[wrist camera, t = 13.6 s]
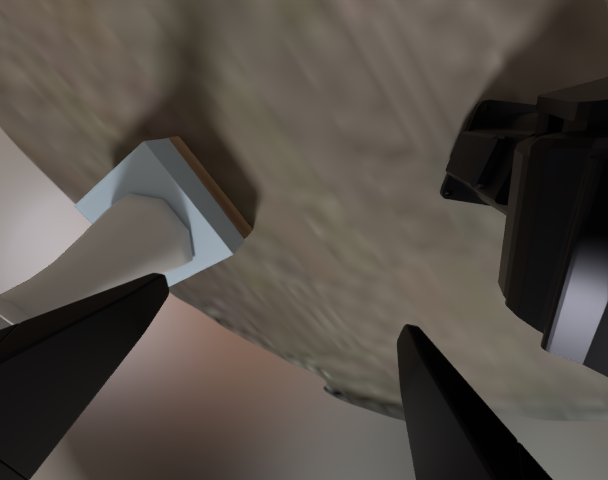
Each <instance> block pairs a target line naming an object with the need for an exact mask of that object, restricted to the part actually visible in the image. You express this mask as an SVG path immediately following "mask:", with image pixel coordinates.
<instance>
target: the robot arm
mask: <svg viewBox="0 0 608 480" xmlns="http://www.w3.org/2000/svg"><path fill="white" fill-rule="evenodd" d="M484 105H487V110H486V112H484V113H482V112H481V109H482V107H483V106H484ZM446 172H447V176H446V178H445V180H444V183H443V185H442V188H441V190H440V194H441V196H442V197H444V198H446V199H451V200H457V201H463V202H470V203H476V204H483V205H489V206H492V207H494V208H495V209H497V210H499V211H500V212H502V213H503V214H505V215H506V223H505V231H504V239H503V247H502V255H501V263H500V271H499V279H498V283H499V286H500V288H501V291H502V293H503V296H504V297H505V298H506V301H505V304H506V306H507V307H508V308H509V309H510V310H511V311H512V312H513V313H514V314H515V315H516V316H517V317H519V318H520V319H522V320H523V321H525V322H526V323H527V324H529V325H530V326H532V327H533V328H535V329H536V330H538V331H540V332H542V333H543V338H542V341H541V347H542V349H544V350H545V351H548V352H550V353H553V354H555V355H558V356H561V357H564V358H566V359H569V360H572V361H575V362H577V363H580V364H583V365H585V366H587V367H589V368H591V369H593V370H595V371H597V372H599V373H601V374H603V375H605V376H607V377H608V77H607V78H604V79H600V80H596V81H592V82H588V83H585V84H581V85H577V86H573V87H569V88H566V89H562V90H558V91H554V92H550V93H547V94H543V95H539V96H538V100H537V105H530V104H521V103H513V102H504V101H496V100H483V101H481V102H479V103H478V104H477V105H476V107H475V108H474V111H473V113H472V116H471V118H470V120H469V123H468V125H467V128H466V130H465V131H464V132H463V133H461V134H460V136H459V138H458V141H457V143H456V146H455V148H454V151H453V153H452V155H451V158H450V160H449V163H448V165H447V168H446ZM448 189H451V192H450V193H449V194H445V193H446V191H447V190H448ZM168 295H169V287H168V283H167V278H166V276H165V275H164V274H160V273H151V274H148V275H145V276H142V277H140V278H137V279H134V280H132V281H129V282H126V283H124V284H121V285H118V286H116V287H113V288H110V289H108V290H105V291H102V292H100V293H97V294H94V295H92V296H89V297H86V298H84V299H81V300H78V301H76V302H73V303H70V304H67V305H65V306H62V307H59V308H57V309H54V310H51V311H49V312H46V313H43V314H41V315H38V316H35V317H33V318H30V319H27V320H25V321H22V322H21V323H16V324H14V325H11V326H8V327H6V328H3V329H0V480H29V479H31V477H32V476H33V475H34V474H35V472H36V471H37V470H38V469H39V467H40V466H41V465H42V463H43V462H44V461H45V459H46V458H47V457H48V456H49V455H50V453H51V452H52V451H53V449H54V448H55V447H56V445H57V444H58V443H59V442H60V440H61V439H62V438H63V437H64V435H65V434H66V433H67V431H68V430H69V429H70V428H71V426H72V425H73V424H74V422H75V421H76V420H77V418H78V417H79V416H80V415H81V413H82V412H83V411H84V410H85V408H86V407H87V406H88V405H89V403H90V402H91V401H92V399H93V398H94V397H95V396H96V394H97V393H98V392H99V390H100V389H101V388H102V387H103V385H104V384H105V382H106V381H107V380H108V379H109V378H110V376H111V375H112V374H113V373H114V371H115V370H116V369H117V367H118V366H119V365H120V363H121V362H122V361H123V360H124V358H125V357H126V356H127V354H128V353H129V352H130V351H131V350H132V348H133V347H134V346H135V344H136V343H137V342H138V341H139V339H140V338H141V337H142V335H143V334H144V332H145V331H146V330H147V328H148V327H149V325H150V324H151V322H152V321H153V319H154V317H155V316H156V314H157V313H158V311H159V310H160V308H161V307H162V305H163V303H164V301H165V300H166V299H167V297H168ZM397 353H398V367H399V381H400V392H401V398H402V404H403V410H404V415H405V421H406V426H407V432H408V437H409V443H410V449H411V454H412V460H413V466H414V471H415V477H416V480H553V479H552V478H551V477H550V476H549V475H548V474H547V473H546V471H545V470H544V469H543V468H542V467H541V466H540V465H539V464H538V462H537V461H536V460H535V459H534V458H533V457H532V456H531V455H530V453H529V452H528V451H527V450H526V449H525V448H524V447H523V445H522V444H521V443H519V442H518V441H517V439H516V437H515V436H514V435H513V434H512V433H511V432H510V431H509V429H508V428H507V427H506V426H505V425H504V424H503V423H502V422H501V421H500V419H499V418H498V417H497V416H496V415H495V413H494V412H493V411H492V410H491V409H490V408H489V407H488V405H487V404H486V403H485V402H484V401H483V400H482V399H481V397H480V396H479V395H478V394H477V393H476V392H475V391H474V389H473V388H472V387H471V386H470V385H469V384H468V383H467V381H466V380H465V379H464V378H463V377H462V376H461V375H460V373H459V372H458V371H457V370H456V369H455V368H454V367H453V365H452V364H451V363H450V362H449V361H448V360H447V359H446V357H445V356H444V355H443V354H442V353H441V352H440V351H439V349H438V348H437V347H436V346H435V345H434V344H433V342H432V341H431V340H430V339H429V338H428V337H427V336H426V334H425V333H424V332H423V331H422V330H421V329H420V328H419V327H418V326H415V325H410V324H406V325H404V327H403V329H402V331H401V333H400V335H399V338H398V340H397Z"/></svg>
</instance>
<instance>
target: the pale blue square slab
mask: <svg viewBox="0 0 608 480" xmlns="http://www.w3.org/2000/svg"><path fill="white" fill-rule="evenodd" d="M128 193H130V194H135V195H141V196H147V197H153V198H158V199H164V201H165V202H166V203H167V204H168V205H169V207H170V208H171V209H172V210H173V212H174V213H175V214H176V215H177V217H178V218H179V219H180V220H181V221H182V223H183V224H184V225H185V226H186V228H187V229H188V230H189V235H190V243H191V250H192V257H193V261H191V262H189V263H187V264H185V265H183V266H181V267H179V268H177V269H175V270H173V271H171V272H168V273H166V274H164V275H165V276H166V278H167V283H168V287H169V286H171V285H173V284H175V283H177V282H179V281H181V280H183V279H185V278H187V277H189V276H191V275H193V274H195V273H197V272H199V271H201V270H203V269H205V268H207V267H209V266H211V265H213V264H215V263H217V262H219V261H221V260H223V259H225V258H227V257H229V256H231V255H233V254H234V253H235V252H236V251H237V249H238V248H239V247H240V246H241V245H242V243H243V242H244V241H245V239H244V238H243V237H242V235H241V234H240V233H239V232H238V230H237V229H236V228H235V226H234V225H233V224H232V222H231V221H230V220H229V218H228V217H227V216H226V214H225V213H224V212H223V210H222V209H221V208H220V206H219V205H218V204H217V202H216V201H215V200H214V198H213V197H212V196H211V194H210V193H209V192H208V190H207V189H206V188H205V186H204V185H203V184H202V182H201V181H200V180H199V178H198V177H197V176H196V174H195V173H194V172H193V170H192V169H191V168H190V166H189V165H188V164H187V162H186V161H185V160H184V158H183V157H182V156H181V154H180V153H179V152H178V150H177V149H176V148H175V146H174V145H173V144H172V142H171V141H170V140H169V138H165V139H157V140H148V141H143V142H142V143H141V144H140V145H139V146H138V147H137V148H136V149H134V150H133V151H132V152H131V153H130V154H129V155H128V156H127V157H126V158H125V159H124V160H123V161H122V162H121V163H120V164H119V165H117V166H116V167H115V168H114V169H113V170H112V171H111V172H110V173H109V174H108V175H107V176H106V177H105V178H104V179H103V180H101V181H100V182H99V183H98V184H97V185H96V186H95V187H94V188H93V189H92V190H91V191H90V192H89V193H88V194H87V195H86V196H84V197H83V198H82V199H81V200H80V201H79V202H78V203H77V204H76V205H75V208H77V210H78V211H79V212H81V214H82V215H84V217H86V219H87V220H88V221H90V222H91V224H93V223H94V222H95V221H96V220H97V219H98V218H99V217H100V216H101V215H102V214H103V213H104V212H105V211H106V210H107V209H108V208H110V207H111V206H112V205H114V204H115V203H116V202H118V201H119V200H120V199H121V198H123V197H124V196H125V195H127V194H128Z"/></svg>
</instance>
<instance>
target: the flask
mask: <svg viewBox="0 0 608 480" xmlns="http://www.w3.org/2000/svg"><path fill="white" fill-rule="evenodd" d="M191 261H193V257H192V250H191V243H190V235H189V230H188V229H187V228H186V226H185V225H184V224H183V223H182V221H181V220H180V219H179V218H178V217H177V215H176V214H175V213H174V212H173V210H172V209H171V208H170V207H169V205H168V204H167V203H166V202H165V201H164V199H158V198H153V197H147V196H141V195H135V194H130V193H128V194H127V195H125V196H124V197H123V198H121V199H120V200H119V201H118V202H116V203H115V204H114V205H112V206H111V207H110V208H108V209H107V210H106V211H105V212H104V213H103V214H102V215H101V216H100V217H99V218H98V219H97V220H96V221H95V222H94V223H93V224H92V225H91V226H90V227H89V228H88V229H87V230H86V232H85V233H84V234H83V235H82V236H81V237H80V238H79V239H78V240H76V242H74V243H73V244H72V245H71V246H70V247H69V248H68V249H67V250H66V251H65V252H64V253H63V254H62V255H61V256H60V257H59V258H58V259H57V260H55V261H54V262H53V263H52V264H51V265H49V266H48V267H46V268H45V269H43V270H42V271H41V272H39V273H38V274H36V275H35V276H33V277H32V278H31V279H29V280H27V281H25V282H23V283H21V284H20V285H17V286H16V287H14V288H12V289H10V290H8V291H6V292H4V293H2V294H0V329H3V328H6V327H8V326H11V325H14V324H16V323H21V322H22V321H25V320H27V319H30V318H33V317H35V316H38V315H41V314H43V313H46V312H49V311H51V310H54V309H57V308H59V307H62V306H65V305H67V304H70V303H73V302H76V301H78V300H81V299H84V298H86V297H89V296H92V295H94V294H97V293H100V292H102V291H105V290H108V289H110V288H113V287H116V286H118V285H121V284H124V283H126V282H129V281H132V280H134V279H137V278H140V277H142V276H145V275H148V274H151V273H160V274H166V273H168V272H171V271H173V270H175V269H177V268H179V267H181V266H183V265H185V264H187V263H189V262H191Z"/></svg>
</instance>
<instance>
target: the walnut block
mask: <svg viewBox="0 0 608 480" xmlns="http://www.w3.org/2000/svg"><path fill="white" fill-rule="evenodd" d="M166 138H169V140H170V141H171V142H172V144H173V145H174V146H175V148H176V149H177V150H178V152H179V153H180V154H181V156H182V157H183V158H184V160H185V161H186V162H187V164H188V165H189V166H190V168H191V169H192V170H193V172H194V173H195V174H196V176H197V177H198V178H199V180H200V181H201V182H202V184H203V185H204V186H205V188H206V189H207V190H208V192H209V193H210V194H211V196H212V197H213V198H214V200H215V201H216V202H217V204H218V205H219V206H220V208H221V209H222V210H223V212H224V213H225V214H226V216H227V217H228V218H229V220H230V221H231V222H232V224H233V225H234V226H235V228H236V229H237V230H238V232H239V233H240V234H241V235H242V237H243V238H244V239H245V238H246V237H247V236H248V235H249V234H250V233H251V231H252V230H253V229H252V228H251V227H250V225H249V224H248V223H247V222H246V220H245V219H244V218H243V217H242V215H241V214H240V213H239V211H238V210H237V209H236V208H235V206H234V205H233V204H232V203H231V201H230V200H229V199H228V198H227V196H226V195H225V194H224V192H223V191H222V190H221V189H220V187H219V186H218V185H217V184H216V182H215V181H214V180H213V179H212V177H211V176H210V175H209V173H208V172H207V171H206V170H205V168H204V167H203V166H202V165H201V163H200V162H199V161H198V160H197V158H196V157H195V156H194V154H193V153H192V152H191V151H190V149H189V148H188V147H187V146H186V144H185V143H184V142H183V141H182V139H181V138H180V137H179V136H175V137H166ZM164 139H165V138H164Z"/></svg>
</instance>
